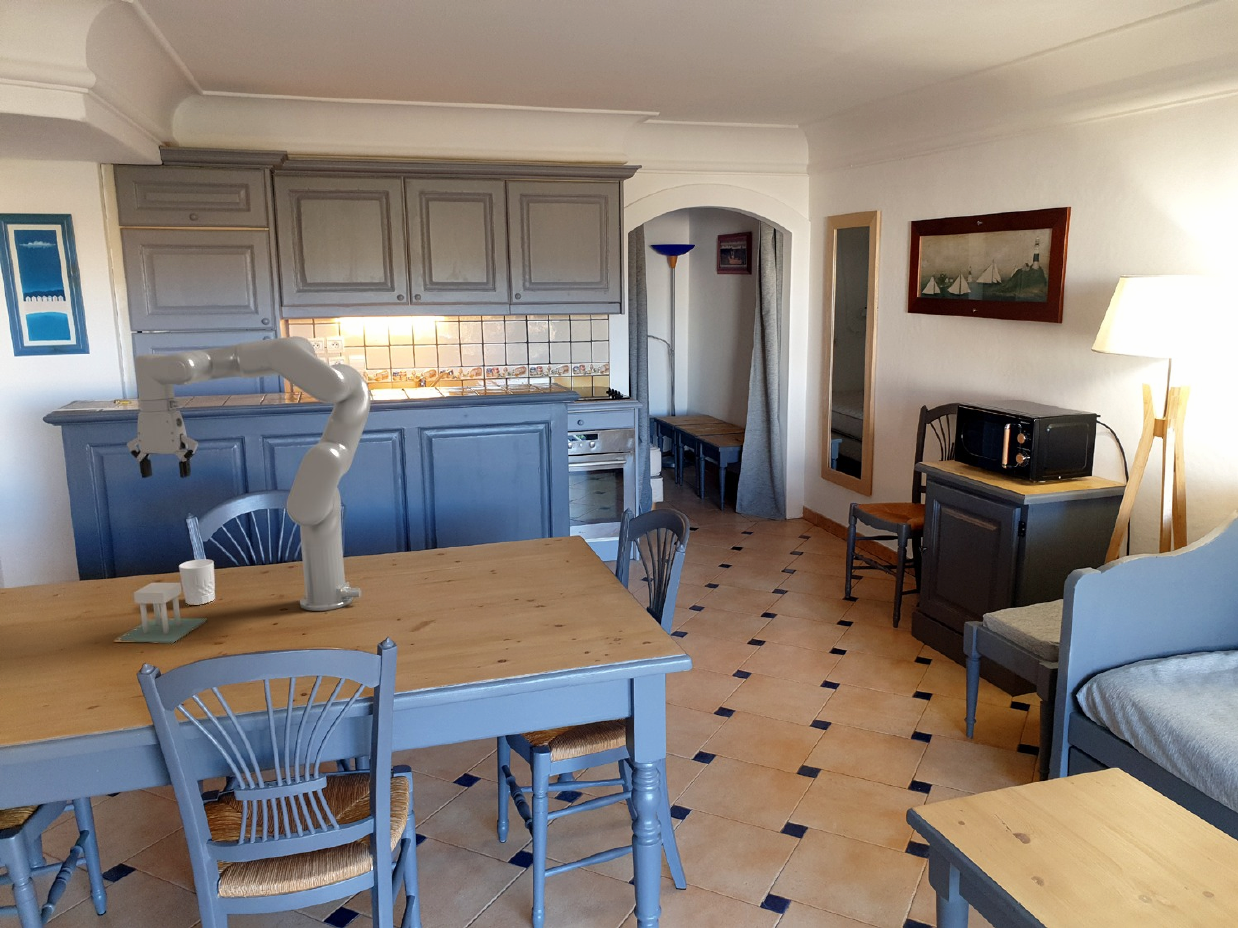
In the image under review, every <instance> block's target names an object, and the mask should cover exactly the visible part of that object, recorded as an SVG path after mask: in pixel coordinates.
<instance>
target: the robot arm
mask: <svg viewBox="0 0 1238 928" xmlns="http://www.w3.org/2000/svg"><path fill="white" fill-rule="evenodd" d="M134 367H135V377H136V383H137V384H136V385H137V392H138V400H139V409H140V412H138V416H137V437H135V438H134V439H132V440H131V441H128V442H127V443H126V446H127V449H128V450H129V451H130V453H131V455H132V456H133V457H134V458H135V459H136V462H139V470H140V474H141V478H142V479H146V478H149V477H151V476H153V470H152V461H151V459H150V456H151V455H170V454H171V455H175V456H177V458H178V459H179V460H180V461H178V467H179V476H180V478H182V479H185V478H187V477H190V476H191V462H190V460H192V458H193V456H194V455H195V454H196V452H197V449H198V447H199V442H198V441H197V440H195V439H193V438H191V437H188V436H187V431H186V426H185V422H184V419H183V417H182V416H183V415H182V414H181V411H180V410H177V408H178V407H180V406H181V402H180V401H179V400H176V398H175V388H174V385H175V386H188V385H192V384H193V385H194V384H195V383H201V382H205V381H212V380H219V379H229V378H244V379H255V378H256V379H257V378H263V377H272V376H273V377H274V376H280V377H282V378H283V379H284V380H286V381H288V382H289V383H290V384H293V385H294V387H297V388H298V389H299V390H301V391H303V392H304V393H305V394H307V395H309V396H310V397H312V398H313V399H315V400H316V401H319V402H321V403H324V404H328V405H331V404H333V408H332V411H331V412H330V415H329V416H328V419H327V421H326V424H325V425H326V426H325V428H324V429H323V430H324V431H323V432H322V435H321V437H320V439H319V441H318V442H317V443H316V444H315V445H314V446H312V447H310V448H309V449H308V451H306V453H305V454H304V456H303V458H302V460H301V462H300V465H299V468H298V470H297V472H296V475H295V478H294V481H293V483H292V486H291V487H290V488H291V489H290V490H289V493H288V496H287V500H286V511H287V514H288V516H289V518H290V519H291V521H292V522H293V523H294V524H296V525H299V528H300V529H299V530H300V543H301V545H300V546H301V554H302V555H301V558H302V568H303V569H302V570H303V579H304V580H303V581H304V589H305V595H304V597H302V598H301V599H300V600H299V606H300V608H301V609H304V610H306V611H312V612H314V611H315V612H319V611H320V612H322V611H323V612H324V611H331V610H335V609H336V610H337V609H340V608H342V607H343V608H344V607H345V606H347V605H349V604H351V603H352V602H353V599H354V598H355V599H360V598H361V597H362V590H361V588H360V587H351V586H350V582H349V581H346V576H345V567H344V566H345V565H344V564H345V563H344V554H343V543H342V542H343V537H342V525H341V523H342V522H341V520H342V519H341V517H342V515H341V513H342V510H341V509H342V501H341V494H340V490H339V488H338V486H339V483H340V481H341V478H342V477H343V476H344V475H345V474H347V472H348V471H349V470H350V468H351V467H352V466H351V465H352V463H353V460H354V458H355V454H356V451H357V449H358V446H359V443H360V441H361V437H362V435H363V432H364V429H365V427H366V424H367V420H368V418H369V414H370V410H371V403H372V402H371V392H370V388H369V385H368V383H367V381H366V380H365V378H364V377H363V376H362V374H361V373H360V372H359V371H358V370H357V369H355V368H354V367H352V366H350V365H349V364H345V363H336V364H332V365H331V364H329V363H327V362H326V361H324V360H323V359H321V358H319V357H318V356H316V349H315V347H314V345H313V344H312V343H311V342H310V341H309V340H308V339H307V338H305V337H302V336H294V335H293V336H287V337H279V338H278V337H277V338H273V339H272V338H270V339H261V340H254V341H247V342H240V343H237V344H235V345H231V346H223V347H215V348H207V349H205V348H204V349H198V350H190V351H189V350H188V351H184V352H179V353H173V354H165V353H143V354H140V355H139V354H138V355H137V356H136V357H135V359H134ZM137 445H138V446H137Z"/></svg>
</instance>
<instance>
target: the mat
mask: <svg viewBox="0 0 1238 928" xmlns="http://www.w3.org/2000/svg"><path fill="white" fill-rule="evenodd" d="M149 619H155V617H150V618H149ZM171 619H174V620H171ZM180 619H181V626H175V618H174V617H168V625H169V633H168V634H164V633H163V625H161V626H156V623H155V621H152V620H151V621H148V625H149V633H147V634H144V633H143V625H140V624H139V626H138V625H137V626H135V627H133V628H132V629H137V630H132V629H131V630H132V631H130V630H128V631H127V632H125V633H124V634H126V635H125V636H122V635H119V637H118V638H121V639H120V640H121V641H134V642H160V643H159V644H175V643H176V642H178V641H179V640H180V639H179V638H181V637H182V638H184V637H185V636H186V635H185V634H187V635H189V632H190V631H191V630H192V629H194V630H195V629H197V628H199V627H200V626H201V625H203V624H205V622H204V621H206V620H207V621H208V619H207V618H191V617H190V618H184V617H182V618H181V617H180ZM207 621H206V622H207ZM202 623H203V624H202ZM161 624H162V617H161ZM200 624H201V625H200ZM199 625H200V626H199ZM196 627H197V628H196ZM191 632H192V631H191ZM191 632H190V633H191ZM128 634H129V635H128ZM184 635H185V636H184ZM183 636H184V637H183ZM182 638H181V639H182ZM178 639H179V640H178ZM116 640H119V639H117V638H116ZM177 640H178V641H177ZM175 641H176V642H175ZM174 642H175V643H174Z"/></svg>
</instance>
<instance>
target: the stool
mask: <svg viewBox="0 0 1238 928" xmlns="http://www.w3.org/2000/svg"><path fill="white" fill-rule="evenodd" d="M182 593H183V589H182V582H150V583H149V584H146V585H145V586H143V587H141V588H140V589H137V590H136V591H134V592H133V597H134V600H133V601H134V603H135V604H139V608H140V615H141V624H142V625H143V633H144V634H147V633H149V625H148V619H149V618H148V611H147V604H153V605H152V606H153V612H154V614H153V615H154V618H155V623H156V626H161V625H163V633H164V634H168V633H169V625H168V618H169V617H168V610H167V602H170V601H172V609H173V618H175V626H181V619H180V618H181V614H180V613H181V612H180V606H179V605H180V602H179V596H180V595H182ZM161 618H162V624H161Z"/></svg>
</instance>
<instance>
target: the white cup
mask: <svg viewBox="0 0 1238 928" xmlns="http://www.w3.org/2000/svg"><path fill="white" fill-rule="evenodd" d="M178 569H179V575H180V579H181V588H182V593H183V595H184V600H185V604H186V603H188V604H194V605H199V604H204V603H207V602H210V601H213V600H214V599H215V600H216V594H215V589H216V588H215V587H216V584H215V582H216V581H215V564H214V560H212V559H207V558H206V559H203V558H201V559H193V560H189V561H185V562H183V563H181V564H179V565H178ZM215 600H214V601H215ZM214 601H213V602H214Z"/></svg>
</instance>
